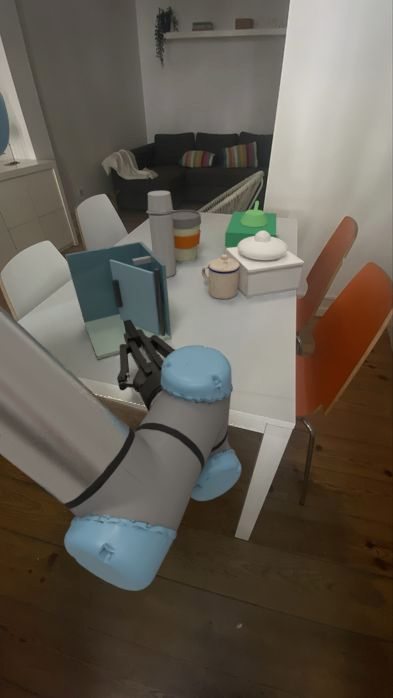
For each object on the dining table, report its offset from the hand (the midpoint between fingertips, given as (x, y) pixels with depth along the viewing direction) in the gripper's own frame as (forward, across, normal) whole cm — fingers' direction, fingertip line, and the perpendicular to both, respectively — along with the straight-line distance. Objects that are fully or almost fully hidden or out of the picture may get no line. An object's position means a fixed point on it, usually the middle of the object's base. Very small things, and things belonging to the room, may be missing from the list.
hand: (127, 325), depth 66 cm
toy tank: (+52, +66, -9) cm, 84 cm away
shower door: (+10, +4, -8) cm, 13 cm away
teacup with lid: (+19, +33, -9) cm, 39 cm away
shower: (+12, +2, -9) cm, 15 cm away
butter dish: (+19, +48, -9) cm, 52 cm away
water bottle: (+39, +23, -9) cm, 46 cm away
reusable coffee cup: (+49, +35, -9) cm, 61 cm away
